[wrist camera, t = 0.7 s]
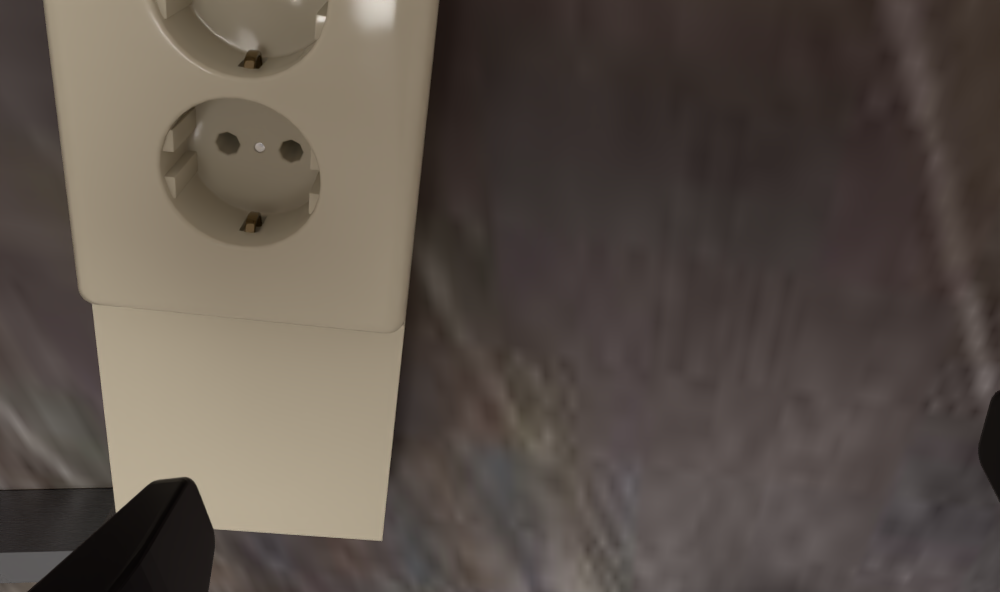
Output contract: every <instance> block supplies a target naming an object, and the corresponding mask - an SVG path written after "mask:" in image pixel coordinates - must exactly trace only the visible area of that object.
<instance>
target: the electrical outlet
mask: <svg viewBox="0 0 1000 592" xmlns="http://www.w3.org/2000/svg"><path fill="white" fill-rule="evenodd" d="M43 4H44V12H45V20H46V29H47V37H48V45H49V53H50V61H51V70H52V78H53V86H54V94H55V102H56V110H57V119H58V127H59V135H60V143H61V151H62V159H63V168H64V176H65V184H66V192H67V200H68V208H69V217H70V225H71V233H72V241H73V249H74V257H75V266H76V274H77V282H78V289H79V292H80V295H81V296H82V297H83V298H84V299H85V300H86V301H88V302H89V303H92V308H93V317H94V325H95V334H96V343H97V352H98V360H99V369H100V378H101V387H102V396H103V404H104V413H105V422H106V431H107V439H108V448H109V457H110V466H111V474H112V483H113V492H114V501H115V509H116V513H117V512H118V511H119V510H120V509H121V508H122V507H123V506H124V505H126V504H127V503H128V502H129V501H130V500H131V499H132V498H133V497H135V496H136V495H137V494H138V493H139V492H140V491H141V490H142V489H144V488H145V487H146V486H147V485H148V484H150V483H151V482H153V481H155V480H159V479H168V478H177V477H188V478H191V479H192V480H193V481H194V482H195V484H196V485H197V487H198V490H199V492H200V495H201V498H202V500H203V503H204V505H205V508H206V510H207V513H208V516H209V518H210V521H211V523H212V526H213V529H222V530H236V531H250V532H264V533H278V534H292V535H307V536H321V537H335V538H349V539H363V540H377V541H382V536H383V527H384V518H385V509H386V500H387V490H388V481H389V472H390V463H391V453H392V444H393V434H394V425H395V415H396V406H397V396H398V387H399V377H400V368H401V359H402V349H403V340H404V330H405V321H406V311H407V302H408V292H409V283H410V273H411V264H412V255H413V245H414V236H415V226H416V217H417V207H418V198H419V188H420V179H421V169H422V160H423V151H424V141H425V132H426V122H427V113H428V103H429V94H430V84H431V75H432V66H433V56H434V47H435V37H436V28H437V18H438V9H439V0H43Z"/></svg>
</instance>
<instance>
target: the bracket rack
mask: <svg viewBox="0 0 1000 592" xmlns="http://www.w3.org/2000/svg"><path fill="white" fill-rule="evenodd" d="M115 513H116V509H115V501H114V492H113V488H112V489H66V490H21V491H0V583H21V582H39V581H40V580H41V579H42V578H43V577H45V576H46V575H47V574H48V573H49V572H50V571H51V570H52V569H54V568H55V567H56V566H57V565H58V564H59V563H60V562H61V561H63V560H64V559H65V558H66V557H67V556H68V555H69V554H70V553H72V552H73V551H74V550H75V549H76V548H77V547H78V546H79V545H81V544H82V543H83V542H84V541H85V540H86V539H87V538H88V537H90V536H91V535H92V534H93V533H94V532H95V531H96V530H97V529H99V528H100V527H101V526H102V525H103V524H104V523H105V522H106V521H108V520H109V519H110V518H111V517H112V516H113V515H114V514H115Z"/></svg>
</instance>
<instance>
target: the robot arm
mask: <svg viewBox="0 0 1000 592" xmlns="http://www.w3.org/2000/svg"><path fill="white" fill-rule="evenodd" d="M978 454H979V460H980V463H981V466H982V468H983V470H984V472H985V474H986V476H987V478H988V480H989V482H990V484H991V486H992V488H993V490H994V492H995V494H996V496H997V498H998V500H999V502H1000V391H997V392H996V393H995V394H994V396H993V397H992V399H991V401H990V405H989V409H988V412H987V416H986V419H985V423H984V427H983V430H982V434H981V437H980V441H979V446H978ZM214 550H215V535H214V529H213V526H212V523H211V521H210V518H209V516H208V513H207V510H206V508H205V505H204V503H203V500H202V498H201V495H200V492H199V490H198V487H197V485H196V484H195V482H194V481H193V480H192V479H191V478H188V477H177V478H168V479H159V480H155V481H153V482H151V483H150V484H148V485H147V486H146V487H145V488H144V489H142V490H141V491H140V492H139V493H138V494H137V495H136V496H135V497H133V498H132V499H131V500H130V501H129V502H128V503H127V504H126V505H124V506H123V507H122V508H121V509H120V510H119V511H118V512H117V513H115V514H114V515H113V516H112V517H111V518H110V519H109V520H108V521H106V522H105V523H104V524H103V525H102V526H101V527H100V528H99V529H97V530H96V531H95V532H94V533H93V534H92V535H91V536H90V537H88V538H87V539H86V540H85V541H84V542H83V543H82V544H81V545H79V546H78V547H77V548H76V549H75V550H74V551H73V552H72V553H70V554H69V555H68V556H67V557H66V558H65V559H64V560H63V561H61V562H60V563H59V564H58V565H57V566H56V567H55V568H54V569H52V570H51V571H50V572H49V573H48V574H47V575H46V576H45V577H43V578H42V579H41V580H40V581H39V582H38V583H37V584H35V585H34V586H33V587H32V588H31V589H30V590H29V591H28V592H208V590H209V583H210V577H211V570H212V563H213V557H214Z"/></svg>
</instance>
